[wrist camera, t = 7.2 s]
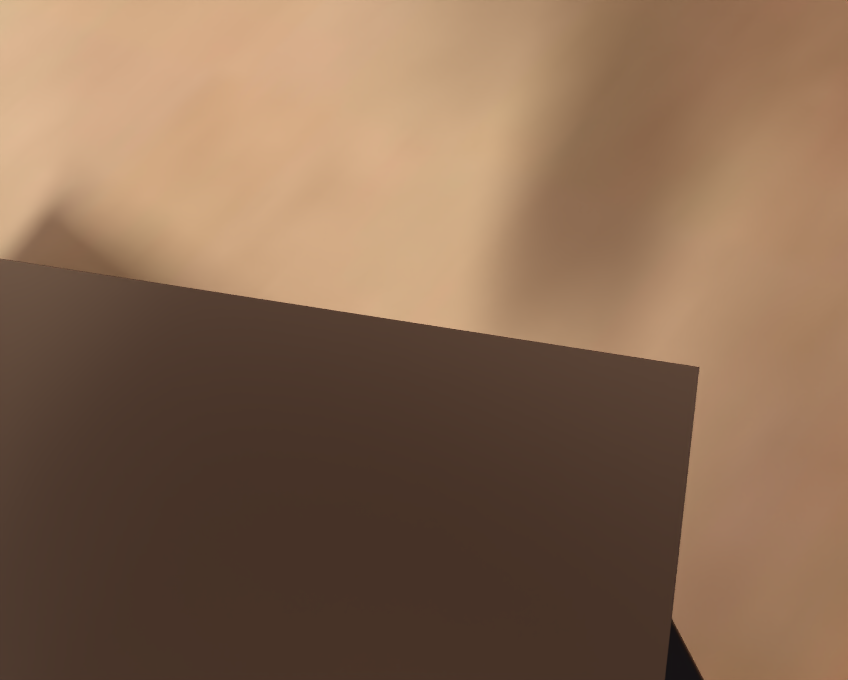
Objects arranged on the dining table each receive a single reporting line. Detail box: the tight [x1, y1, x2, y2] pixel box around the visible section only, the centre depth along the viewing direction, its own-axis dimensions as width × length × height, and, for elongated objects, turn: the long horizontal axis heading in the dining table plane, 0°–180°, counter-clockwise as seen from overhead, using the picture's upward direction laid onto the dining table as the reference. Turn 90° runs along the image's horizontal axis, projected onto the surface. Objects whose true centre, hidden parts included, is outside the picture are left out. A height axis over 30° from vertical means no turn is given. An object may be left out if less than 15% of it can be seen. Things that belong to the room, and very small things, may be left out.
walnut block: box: [0, 259, 699, 680], centre depth 9 cm, size 5×4×12 cm
